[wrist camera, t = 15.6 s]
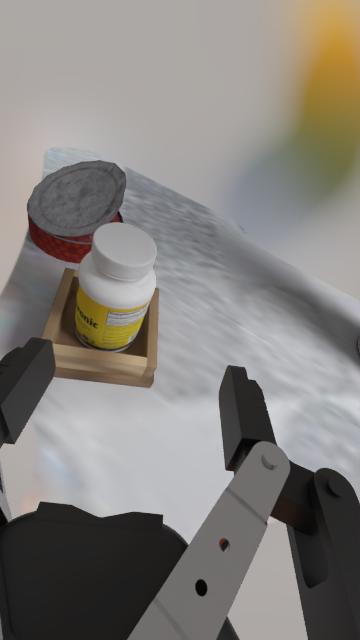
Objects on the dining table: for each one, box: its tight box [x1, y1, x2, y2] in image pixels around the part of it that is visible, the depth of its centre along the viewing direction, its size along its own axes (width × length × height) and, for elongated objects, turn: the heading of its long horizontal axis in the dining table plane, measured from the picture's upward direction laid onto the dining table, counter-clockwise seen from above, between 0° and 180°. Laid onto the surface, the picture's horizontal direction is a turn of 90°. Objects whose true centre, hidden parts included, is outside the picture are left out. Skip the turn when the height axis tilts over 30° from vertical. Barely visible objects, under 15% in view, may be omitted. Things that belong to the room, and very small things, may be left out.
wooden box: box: [41, 268, 159, 388], centre depth 24 cm, size 9×9×3 cm
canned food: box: [27, 160, 126, 263], centre depth 29 cm, size 11×10×10 cm
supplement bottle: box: [75, 222, 157, 353], centre depth 20 cm, size 5×5×10 cm
